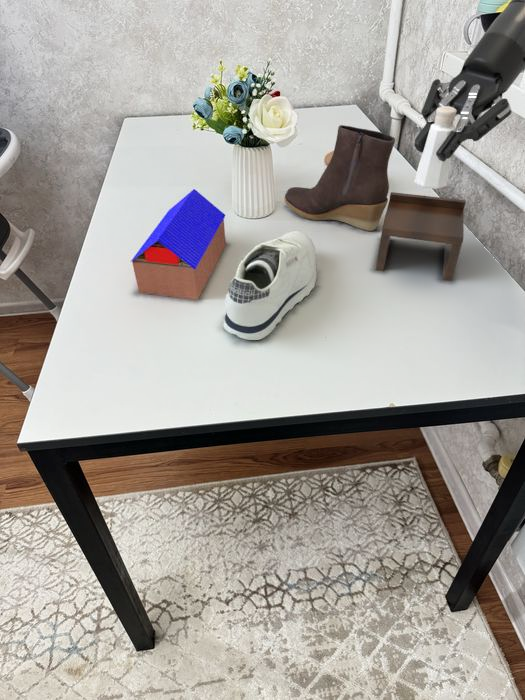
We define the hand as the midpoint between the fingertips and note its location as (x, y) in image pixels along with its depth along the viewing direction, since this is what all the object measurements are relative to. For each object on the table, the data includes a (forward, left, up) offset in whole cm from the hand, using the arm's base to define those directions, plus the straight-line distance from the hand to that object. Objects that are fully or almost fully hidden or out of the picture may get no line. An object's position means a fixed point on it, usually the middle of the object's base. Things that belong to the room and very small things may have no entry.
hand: (429, 153), depth 74 cm
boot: (+17, -23, -25) cm, 38 cm away
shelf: (-2, -10, -24) cm, 26 cm away
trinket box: (+17, -38, -25) cm, 48 cm away
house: (+41, +5, -25) cm, 48 cm away
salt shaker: (-1, -2, -5) cm, 6 cm away
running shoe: (+21, +9, -25) cm, 34 cm away
